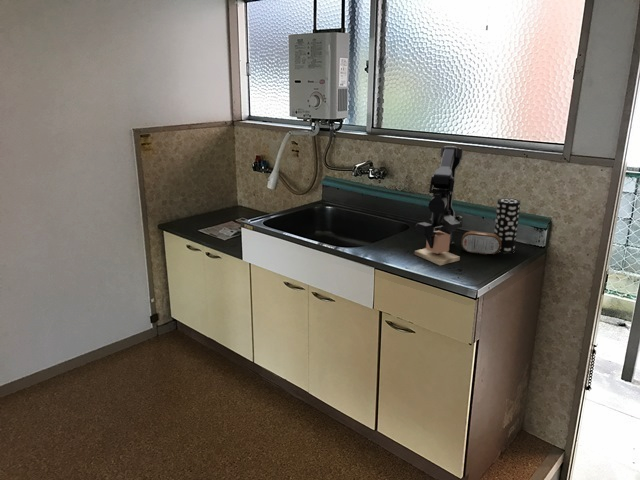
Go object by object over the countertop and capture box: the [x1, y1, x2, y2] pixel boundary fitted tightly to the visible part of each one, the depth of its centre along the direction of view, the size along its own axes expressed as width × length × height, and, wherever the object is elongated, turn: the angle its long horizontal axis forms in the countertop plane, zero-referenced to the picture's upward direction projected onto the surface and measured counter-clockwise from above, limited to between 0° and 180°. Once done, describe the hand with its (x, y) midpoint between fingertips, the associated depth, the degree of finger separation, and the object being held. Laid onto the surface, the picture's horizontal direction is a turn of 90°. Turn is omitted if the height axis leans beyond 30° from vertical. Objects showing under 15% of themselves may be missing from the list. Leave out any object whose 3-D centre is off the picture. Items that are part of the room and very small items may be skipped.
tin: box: [460, 230, 501, 255], centre depth 202 cm, size 15×3×8 cm, turn 70°
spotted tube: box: [493, 197, 521, 253], centre depth 204 cm, size 8×8×20 cm
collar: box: [425, 230, 450, 254], centre depth 197 cm, size 6×6×6 cm
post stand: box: [414, 247, 461, 266], centre depth 197 cm, size 10×14×9 cm
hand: (437, 246), depth 198 cm, fingers closed on collar, 6 cm apart
